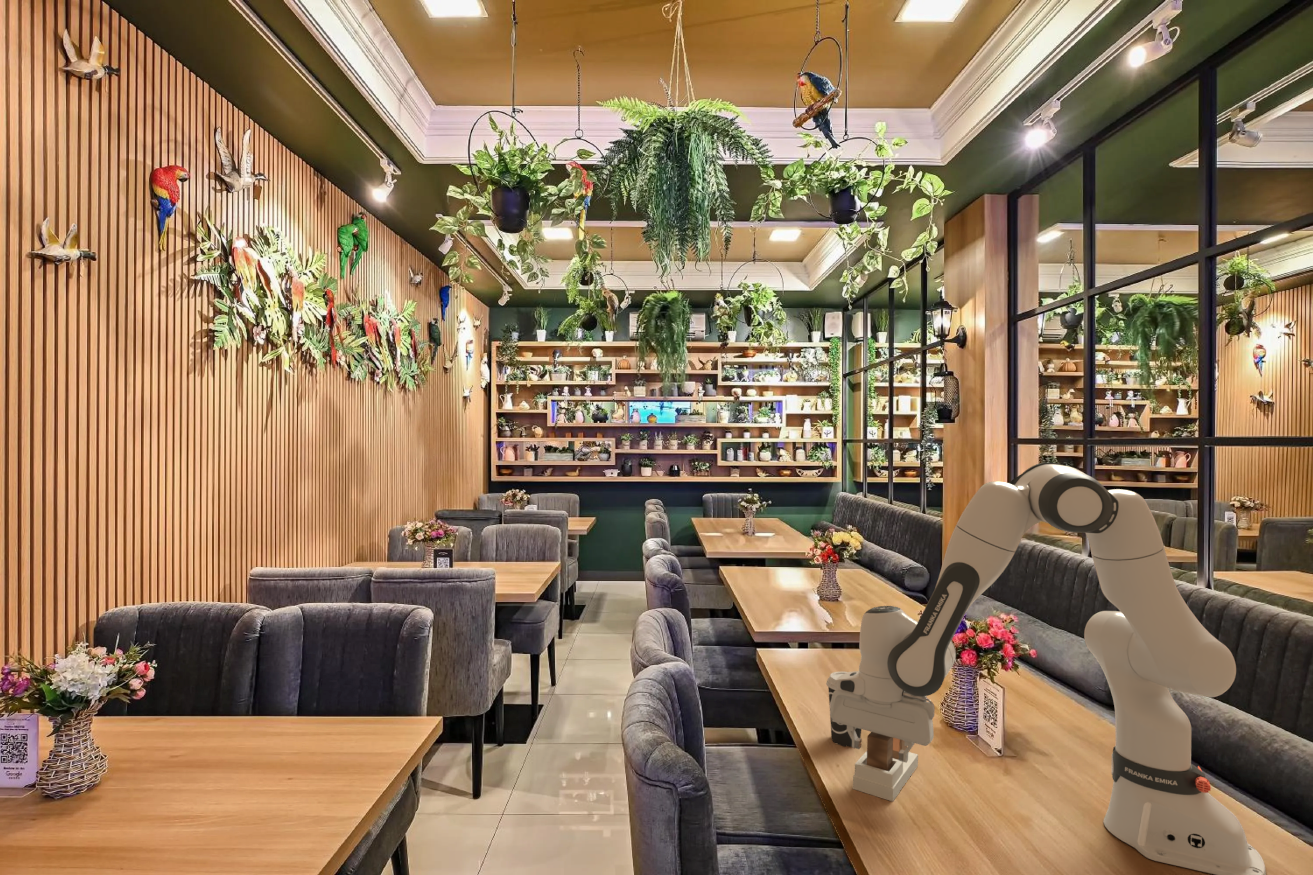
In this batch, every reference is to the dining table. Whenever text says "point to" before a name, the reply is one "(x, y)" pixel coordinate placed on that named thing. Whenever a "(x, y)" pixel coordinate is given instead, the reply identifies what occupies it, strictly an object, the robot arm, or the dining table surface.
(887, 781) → the block holder
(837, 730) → the coffee cup
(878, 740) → the stacked taupe block
